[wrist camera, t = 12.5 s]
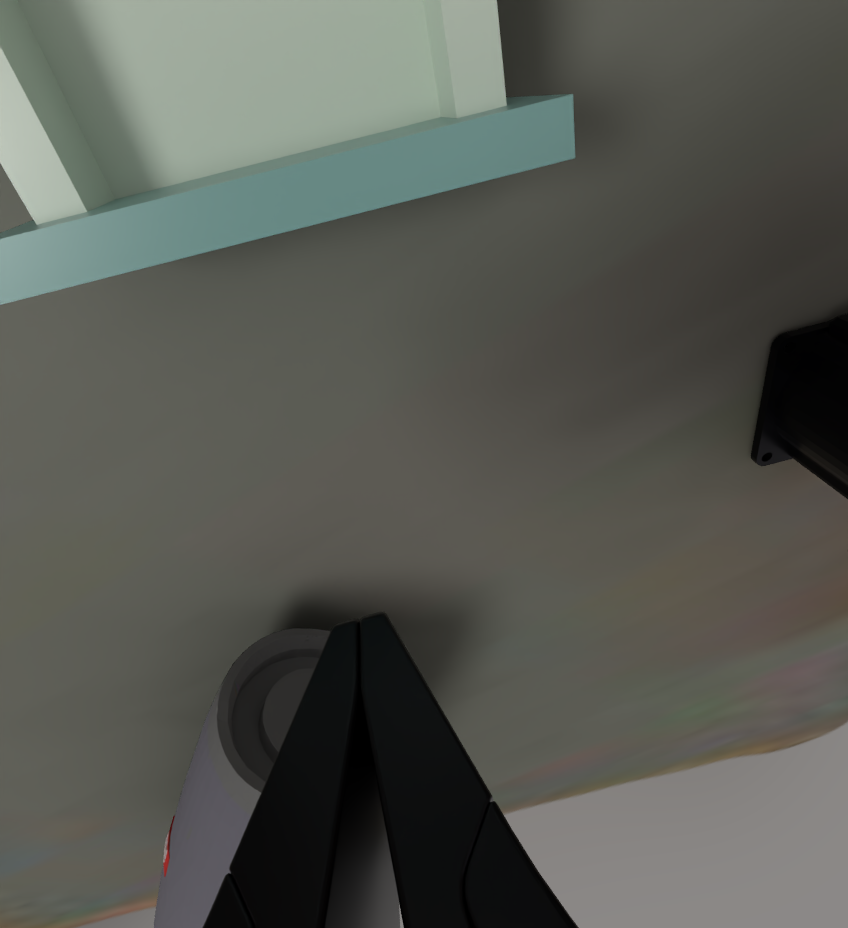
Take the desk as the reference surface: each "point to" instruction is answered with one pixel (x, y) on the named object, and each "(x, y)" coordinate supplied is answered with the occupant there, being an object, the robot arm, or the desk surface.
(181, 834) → the bluetooth speaker
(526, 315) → the desk surface
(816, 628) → the desk surface
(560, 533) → the desk surface
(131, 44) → the tray
